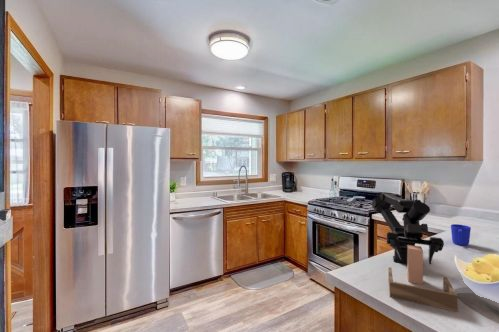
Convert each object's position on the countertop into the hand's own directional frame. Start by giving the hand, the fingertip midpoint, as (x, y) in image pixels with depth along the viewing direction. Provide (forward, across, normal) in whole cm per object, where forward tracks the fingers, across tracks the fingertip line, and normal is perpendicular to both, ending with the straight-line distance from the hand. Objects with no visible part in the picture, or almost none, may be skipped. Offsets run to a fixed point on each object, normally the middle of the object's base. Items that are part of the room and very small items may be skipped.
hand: (415, 261), depth 91 cm
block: (+5, 0, +7) cm, 8 cm away
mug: (-35, +27, +47) cm, 65 cm away
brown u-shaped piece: (+12, 0, -1) cm, 12 cm away
